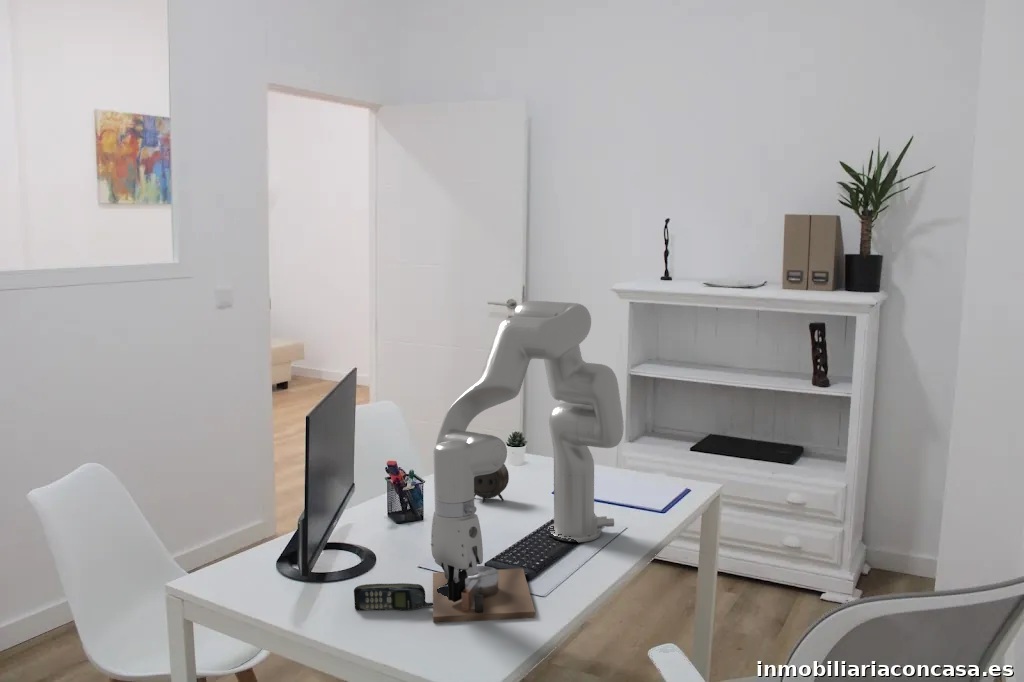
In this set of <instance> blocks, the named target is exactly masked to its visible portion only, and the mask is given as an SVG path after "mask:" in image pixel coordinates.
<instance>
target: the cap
mask: <svg viewBox="0 0 1024 682" xmlns="http://www.w3.org/2000/svg"><path fill="white" fill-rule="evenodd" d="M477 568H478V574H477V575H475V576H468V578H467V579H465V589H464V590H463V591H462V610H463V611H469V610H470V608H471V606H472V605H473V604H474V602H475V597H474V596H475V595H477V594H481V595H483V596H489V595H492V594H495V593H496V592H497V591H498V589H499V583H498V570H499V569H497V568H494V567H492V566H488V565H487V566H486V565H477Z"/></svg>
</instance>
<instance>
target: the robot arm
mask: <svg viewBox="0 0 1024 682" xmlns="http://www.w3.org/2000/svg"><path fill="white" fill-rule="evenodd" d="M591 326H592V316H591V313H590V311H589V309H588V308H587V307H586V306H585V305H583V304H581V303H578V302H561V301H560V302H559V301H546V300H544V301H543V300H527V301H524V302H521V303H520V302H519V304H517V306H515V309H514V312H513V316H512V317H507V318H505V319H503V320H502V321H501V322H500V324H499V325H498V326H497V330H496V332H495V335H494V337H493V340H492V342H491V346H490V349H489V352H488V355H487V358H486V359H485V363H484V366H483V368H482V370H481V371H482V372H481V374H480V377H479V379H478V380H477V382H475V383H474V384H473V385H471V386H470V387H469V388H467V390H465V391H464V392H463V393H462V394H461V395H460V396H459V397H458V398H457V399H456V400H455V401H454V402H453V403H452V405H451V406H450V407H449V408H448V410H447V412H446V413H445V416H444V418H443V421H442V424H441V426H440V429H439V432H438V435H437V438H436V444H435V447H434V449H433V485H434V487H433V489H434V511H433V516H432V522H431V533H430V535H431V537H430V539H431V541H430V544H431V555H432V558H433V559H434V562H435V564H436V565H438V566H439V567H441V569H442V570H443V572H444V574H445V578H446V579H447V580H448V600H452V601H453V602H456V601H458V600H461V599H462V591H463V590H464V589H465V579H467V578H468V576H475V575H477V574H478V568H477V566H478V565H482V564H483V562H484V552H483V551H484V548H483V536H482V530H481V524H480V519H479V516H478V514H476V512H477V506H475V497H474V477H475V476H479V475H485V474H491V473H493V472H496V471H497V470H499V469H500V468H501V467H502V466H503V465H504V464H505V463H506V460H507V458H508V457H507V456H508V449H507V446H506V443H505V442H504V441H503V440H502V439H501V438H499V437H498V436H495V435H493V434H486V433H478V432H474V431H467V428H468V426H469V425H470V423H471V422H472V421H473V420H474V419H475V418H476V417H477V416H478V415H480V414H481V413H482V412H484V411H485V410H488V409H491V408H492V407H496V406H498V405H501V404H503V403H507V402H509V401H511V400H513V399H516V398H517V396H518V395H519V394H520V392H521V389H522V385H523V382H524V379H525V376H526V373H527V371H528V367H529V365H530V362H531V360H537V359H538V360H543V363H544V368H545V372H546V378H547V383H548V384H547V385H548V389H549V392H550V395H551V397H552V398H553V399H554V400H556V401H557V402H561V403H560V404H557V405H555V407H553V408H552V410H551V412H550V414H549V418H548V426H549V432H550V433H549V434H550V437H551V442H552V451H553V452H552V453H553V454H552V455H553V515H554V516H553V523H552V524H550V525H549V526H548V528H547V530H548V529H549V527H550V528H553V527H551V526H554V530H555V531H550V532H551V534H553V535H554V536H558V534H562V535H559V536H558V537H561V538H566V539H568V538H571V539H574V540H576V541H577V542H578V543H586V542H592V541H594V540H596V539H598V538H599V537H600V536H601V534H602V533H601V531H602V530H601V528H602V527H606V528H608V527H615V519H614V517H612V518H611V517H610V518H609V517H607V516H605V515H603V516H597V515H596V513H595V463H594V462H595V460H594V457H593V455H592V452H591V450H590V449H589V447H593V448H601V449H611V448H615V447H617V446H618V445H619V444H620V443H621V441H622V439H623V437H624V436H623V435H624V426H625V425H624V417H623V409H622V402H621V397H620V394H621V393H620V389H619V383H618V378H617V375H616V373H615V371H614V370H613V369H612V368H611V367H610V366H608V365H605V364H604V363H603V364H602V363H594V362H593V363H592V362H586V361H584V360H583V357H582V352H581V348H580V344H581V343H583V342H584V341H585V339H587V337H588V335H589V333H590V330H591ZM550 530H553V529H550ZM554 532H555V533H554ZM564 536H567V537H564ZM569 536H571V537H569ZM460 571H461V572H460Z"/></svg>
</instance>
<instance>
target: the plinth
mask: <svg viewBox="0 0 1024 682" xmlns="http://www.w3.org/2000/svg"><path fill="white" fill-rule="evenodd" d="M497 570H498V583H499V589H498V591H497V592H496V593H495V594H492V595H489V596H483V595H481V594H477V595H475V596H474V597H475V602H474V604H473V605H472V606H471V608H470V610H469V611H463V610H462V599H461V600H458V601H456V602H453V601H452V600H448V597H447V596H444V595H442V594H441V593H438V592H437V589H439V588H440V587H442V586H443V585H445V584H447V583H448V580H447V579H446V578H445V574H444V571H441V572H440V571H439V572H432V603H433V606H432V619H433V620H432V623H433V624H438V623H457V622H458V623H459V622H460V623H461V622H474V621H475V622H478V621H495V620H497V621H498V620H513V619H514V620H515V619H531V618H532V619H534V618H535V617H536V614H535V613H536V612H535V608H534V605H533V604H534V603H533V600H532V597H531V592H530V589H529V585H528V582H527V581H528V580H527V579H526V574H525V570H524V568H507V569H497ZM461 571H462V570H460V572H461Z"/></svg>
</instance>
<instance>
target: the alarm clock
mask: <svg viewBox="0 0 1024 682" xmlns="http://www.w3.org/2000/svg"><path fill="white" fill-rule="evenodd" d="M509 478H510V475H509V470H508V469H507V467H506V464H505V463H504V465H503V466H502V467H501V468H500V469H499V470H497V471H496V472H493V473H491V474H485V475H479V476H475V477H474V498H475V497H476V496H477V497H479V498H482V503H483V504H485V503H486V500H487V499H493V498H496V497H497V496H498V498H499V499H501V501H502V502H504V501H505V499H504V498H503V496H502V494H501V493H502V492H503V491H504V490H505V489H506V488H507V486H508V484H509V480H510V479H509Z"/></svg>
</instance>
